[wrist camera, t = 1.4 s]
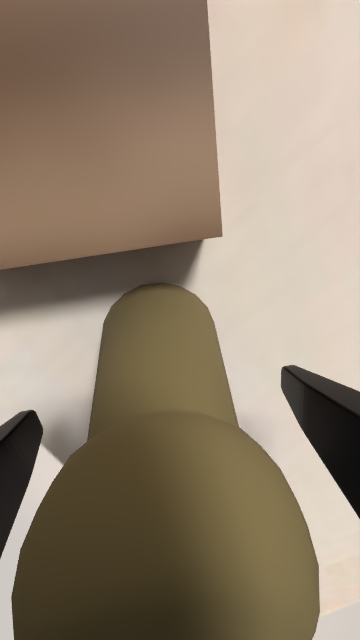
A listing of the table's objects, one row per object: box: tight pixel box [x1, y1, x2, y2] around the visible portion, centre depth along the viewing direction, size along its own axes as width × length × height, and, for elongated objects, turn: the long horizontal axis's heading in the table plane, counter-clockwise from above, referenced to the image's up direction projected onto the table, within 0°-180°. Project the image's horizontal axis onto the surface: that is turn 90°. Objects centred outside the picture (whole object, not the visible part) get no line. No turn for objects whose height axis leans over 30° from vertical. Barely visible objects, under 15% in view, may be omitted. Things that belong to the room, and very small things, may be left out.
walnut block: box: [0, 0, 222, 270], centre depth 8 cm, size 10×10×3 cm
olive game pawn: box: [12, 283, 320, 640], centre depth 8 cm, size 6×6×11 cm
